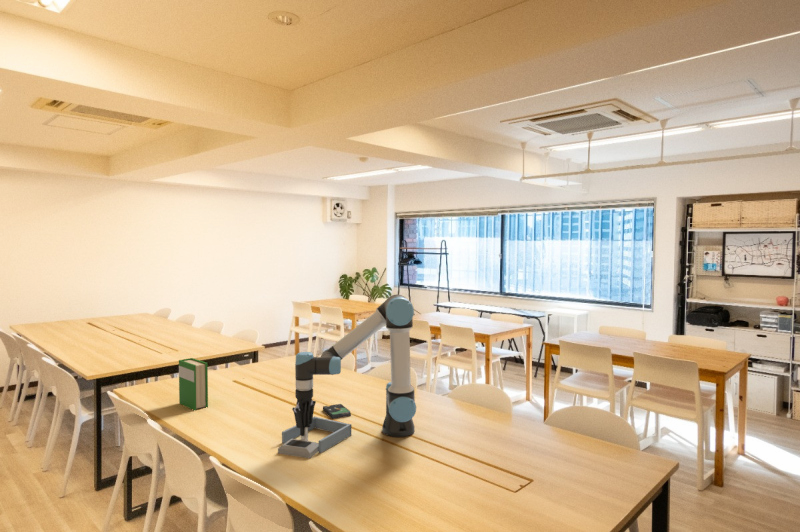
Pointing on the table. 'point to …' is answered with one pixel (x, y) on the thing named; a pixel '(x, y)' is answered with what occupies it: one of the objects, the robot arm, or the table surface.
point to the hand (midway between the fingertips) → (304, 442)
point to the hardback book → (193, 383)
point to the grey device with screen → (299, 448)
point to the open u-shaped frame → (338, 428)
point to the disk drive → (336, 411)
